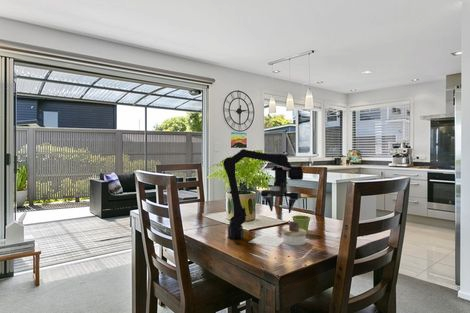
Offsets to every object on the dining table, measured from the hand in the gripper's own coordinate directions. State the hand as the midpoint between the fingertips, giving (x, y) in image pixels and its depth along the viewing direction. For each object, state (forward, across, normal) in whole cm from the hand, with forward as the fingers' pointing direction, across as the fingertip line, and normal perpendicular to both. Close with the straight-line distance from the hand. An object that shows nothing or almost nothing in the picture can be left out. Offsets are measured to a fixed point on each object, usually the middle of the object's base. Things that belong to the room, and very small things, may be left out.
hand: (280, 212), depth 147 cm
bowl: (+13, +8, -4) cm, 16 cm away
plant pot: (+13, +7, +13) cm, 19 cm away
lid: (+8, +8, -4) cm, 13 cm away
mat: (+13, -3, -8) cm, 15 cm away
